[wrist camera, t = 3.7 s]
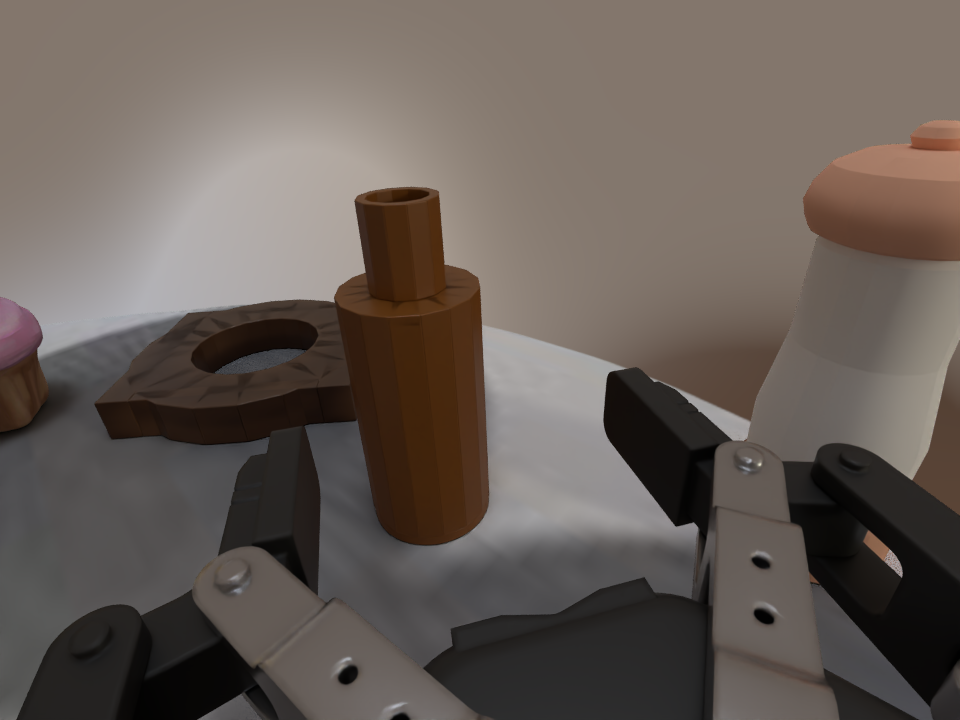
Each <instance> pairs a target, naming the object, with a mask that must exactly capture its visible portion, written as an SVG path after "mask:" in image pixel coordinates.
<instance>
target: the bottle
mask: <svg viewBox="0 0 960 720" xmlns="http://www.w3.org/2000/svg"><path fill="white" fill-rule="evenodd" d="M355 207H356V214H357V219H358V226H359V233H360V239H361V245H362V251H363V258H364V264H365V271H366V273H364V274H361V275H358V276H355V277H353V278H351V279H350V280H348V281H347V282H345V283H344V284H342V285H341V286H339V288H338V290H337V292H336V294H335V296H334V300H335V306H336V311H337V316H338V321H339V326H340V331H341V337H342V342H343V347H344V352H345V357H346V362H347V368H348V373H349V378H350V383H351V388H352V393H353V399H354V404H355V409H356V414H357V419H358V424H359V430H360V435H361V440H362V445H363V450H364V455H365V461H366V466H367V471H368V476H369V481H370V486H371V492H372V497H373V502H374V506H375V508H376V512H377V516H378V519H379V522H380V523H381V525H382V526H383V528H384V529H385V530H386V531H387V532H388V533H389V534H391V535H392V536H394V537H395V538H397V539H399V540H402V541H404V542H408V543H412V544H418V545H434V544H441V543H445V542H449V541H451V540H454V539H457V538H459V537H461V536H463V535H465V534H466V533H468V532H469V531H470V530H472V529H473V528H474V527H475V526H476V525H477V524H478V523H479V522H480V521H481V519H482V518H483V516H484V514H485V512H486V510H487V507H488V502H489V479H488V456H487V433H486V411H485V388H484V365H483V342H482V319H481V298H480V297H481V296H480V285H479V280H478V278H477V277H476V276H475V275H473V274H472V273H470V272H469V271H467V270H464V269H460V268H456V267H453V266H449V265H444V252H443V239H442V226H441V213H440V200H439V192H438V191H437V190H433V189H430V188H420V187H399V188H387V189H381V190H375V191H370V192H367V193H364V194H361V195H358V196H357V197H356V199H355Z"/></svg>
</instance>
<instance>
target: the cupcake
mask: <svg viewBox="0 0 960 720" xmlns="http://www.w3.org/2000/svg"><path fill="white" fill-rule="evenodd" d="M42 339H43V335H42V331H41V328H40V325H39V323H38V321H37V320H36V318H35V317H34V315H33V314H32V313H31V312H30V311H28V310H27V309H25V308H23V307H20V306H19V305H17V304H16V303H15V302H13V301H11V300H9V299H6V298H2V297H0V432H4V431H9V430H13V429H18V428H21V427H23V426H26V425H27V424H29V423H30V422H31V420H32V419H33V417H34V416H35V414H36V413H37V412H38V411H39V409H40V407H41V406H42V405H43V404H44V403H45V401H46V400H47V398H48V396H49V389H48V385H47V382H46V379H45V377H44V374H43V372H42V370H41V367H40V364H39V361H38V356H37V348H38V347H39V346H40V344H41V342H42Z"/></svg>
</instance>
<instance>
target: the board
mask: <svg viewBox="0 0 960 720" xmlns="http://www.w3.org/2000/svg"><path fill="white" fill-rule="evenodd" d="M279 348H298V349H305V350H307V351H306V352H305V353H303V354H302V355H300V356H298V357H296V358H294V359H292V360H291V361H289V362H286V363H283V364H280V365H278V366H275V367H272V368H269V369H264V370H259V371H255V372H250V373H243V374H229V375H224V374H215V373H214V372H215V371H216V370H218V369H219V368H220V367H222V366H223V365H225V364H227V363H229V362H231V361H233V360H235V359H237V358H240V357H243V356H246V355H249V354H252V353H255V352H260V351H264V350H269V349H279ZM94 405H95V407H96V409H97V411H98V413H99V415H100V417H101V419H102V421H103V423H104V425H105V427H106V429H107V431H108V433H109V435H110V437H111V438H112V439H115V438H128V437H141V436H154V435H163V436H165V437H167V438H168V439H171V440H177V441H184V442H191V443H198V444H219V443H232V442H245V441H252V440H256V439H260V438H264V437H268V436H270V434H271V432H272V431H276V430H282V429H287V428H293V427H299V426H303V425H305V424H311V423H324V422H326V423H327V422H340V421H353V420H356V419H357V414H356V409H355V404H354V399H353V393H352V388H351V383H350V378H349V373H348V368H347V362H346V357H345V352H344V347H343V342H342V337H341V331H340V326H339V321H338V316H337V311H336V306H335V303H333V302H329V301H315V300H286V301H271V302H265V303H259V304H253V305H248V306H242V307H239V308H238V307H237V308H233V309H230V310H225V311H213V312H196V313H188V314H187V315H186V316H185V317H184V318H182V319H181V320H180V321H179V322H178V323H177V324H176V325H175V326H174V327H173V328H172V329H171V330H170V331H169V332H168V333H167V334H165V335H164V336H162V337H160V338H159V339H157V340H155V341H154V342H152V343H151V344H149V345H148V346H147V347H146V348H145V349H144V350H143V351H142V352H141V353H140V354H139V355H138V356H137V357H136V358H134V359H133V361H132V363H131V365H130V368H129V370H128V371H127V372H126V373H125V374H124V375H123V376H122V377H121V378H120V379H119V380H118V381H117V382H116V383H115V384H114V385H113V386H112V387H111V388H110V389H109V390H108V391H107V392H106V393H105V394H104V395H103V396H102V397H101V398H99V399H98V400H97V401H96V402H95V404H94Z"/></svg>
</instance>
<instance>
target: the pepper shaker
mask: <svg viewBox="0 0 960 720" xmlns="http://www.w3.org/2000/svg"><path fill="white" fill-rule="evenodd" d="M911 141H912V144H888V145H877V146H872V147H867V148H864V149H862V150H859V151H856V152H853V153H851V154H848V155H845V156H842V157H840V158H837V159H835V160H834V161H832V162H831V163H830V164H829V165H828V166H827V167H826V168H825V169H824V170H823V171H822V172H821V173H820V174H819V175H818V176H817V177H816V178H815V179H814V180H813V182H812V183H811V185H810V187H809V189H808V190H807V192H806V194H805V196H804V198H803V203H804V214H805V217H806V221H807V224H808V226H809V228H810V230H811V231H812V232H814V233H816V234H818V235H819V236H818V238H817V239H816V242H815V246H814V250H813V253H812V256H811V259H810V263H809V267H808V270H807V273H806V277H805V280H804V283H803V287H802V290H801V294H800V297H799V300H798V304H797V307H796V310H795V314H794V317H793V321H792V324H791V328H790V330H789V332H788V334H787V336H786V338H785V340H784V343H783V344H782V347H781V348H780V351H779V353H778V355H777V357H776V359H775V361H774V363H773V365H772V367H771V369H770V371H769V373H768V375H767V377H766V379H765V381H764V383H763V385H762V387H761V389H760V391H759V393H758V395H757V398H756V402H755V406H754V410H753V415H752V420H751V424H750V428H749V433H748V437H747V439H746V440H744V441H747V442H751V443H755V444H758V445H761V446H763V447H765V448H767V449H769V450H770V451H772V452H773V453H775V454H776V455H777V456H778V457H779V458H780V460H781V461H800V462H814V460H815V457H816V454H817V451H818V449H819V448H820V447H821V446H823V445H826V444H830V443H844V444H850V445H854V446H858V447H861V448H864V449H866V450H868V451H871V452H873V453H874V454H876V455H878V456H879V457H881V458H882V459H884V460H885V461H886V462H888V463H889V464H890V465H892V466H893V467H894V468H896V469H897V470H898V471H900V472H901V473H903V474H904V475H905V476H907V477H908V478H909V479H911V480H912V479H913V477H914V476H915V474H916V472H917V470H918V468H919V466H920V465H921V463H922V461H923V459H924V457H925V455H926V454H927V452H928V450H929V446H930V441H931V437H932V433H933V428H934V424H935V420H936V416H937V411H938V406H939V402H940V398H941V394H942V389H943V385H944V380H945V376H946V372H947V367H948V364H949V362H950V359H951V357H952V355H953V353H954V351H955V349H956V346H957V344H958V342H959V340H960V121H954V120H935V121H931V122H928V123H925V124H922V125H920V126H919V127H918V128H917V129H916V130H915V131H914V132H913V133H912V134H911ZM863 542H864V543H865V544H866V545H867V546H868V547H869V548H870V549H871V550H872V551H873V552H875V553H876V554H877V555H878V556H879V557H880V558H881V559H882V560H883V561H884V559H885V557H886V555H887V553H888V551H889V548H888V547H887V546H886V545H885V544H883V543H882V542H881V541H880V540H879V539H878V538H877V537H876V536H875V535H873V534H872V533H871V532H870V531H869V530H868V532H867V534H866V536H865V539H864V541H863ZM809 577H810V582H814V583H818V584H819V582H818V581H817V580H816V579H815V578H814V577H813V576H812V575H811V574H810V572H809Z"/></svg>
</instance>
